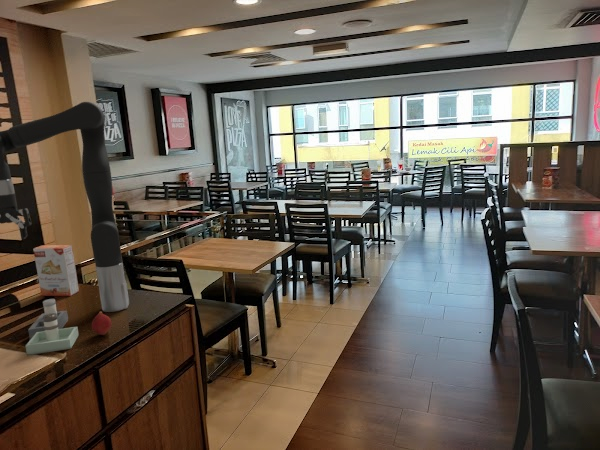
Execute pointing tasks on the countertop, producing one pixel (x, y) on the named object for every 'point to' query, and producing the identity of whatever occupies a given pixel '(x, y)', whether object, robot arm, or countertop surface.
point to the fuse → (50, 306)
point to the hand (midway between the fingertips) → (10, 240)
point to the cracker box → (56, 270)
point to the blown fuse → (51, 327)
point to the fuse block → (39, 323)
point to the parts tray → (42, 346)
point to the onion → (101, 324)
